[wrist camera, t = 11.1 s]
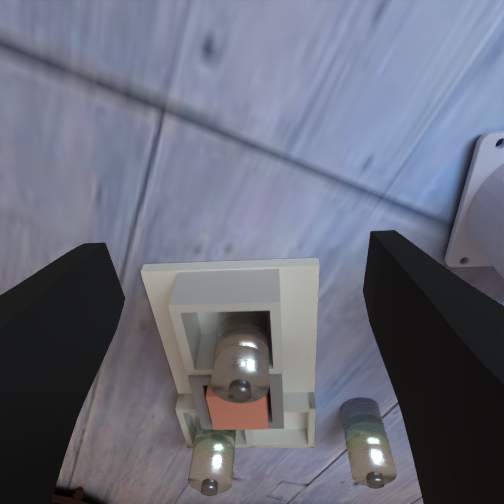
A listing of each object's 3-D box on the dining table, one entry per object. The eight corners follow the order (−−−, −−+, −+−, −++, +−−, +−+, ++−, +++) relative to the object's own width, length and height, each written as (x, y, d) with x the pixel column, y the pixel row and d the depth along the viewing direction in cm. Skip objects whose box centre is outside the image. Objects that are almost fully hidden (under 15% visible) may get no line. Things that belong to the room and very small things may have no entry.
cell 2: (381, 397, 30) (402, 474, 26) (376, 419, 32) (395, 495, 27) (341, 397, 31) (355, 473, 26) (339, 419, 33) (351, 494, 28)
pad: (265, 358, 26) (265, 396, 23) (268, 391, 28) (268, 429, 25) (211, 359, 26) (205, 397, 23) (218, 391, 28) (213, 429, 26)
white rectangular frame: (317, 257, 23) (326, 301, 19) (312, 423, 33) (316, 470, 30) (143, 264, 23) (123, 307, 20) (191, 424, 34) (183, 469, 31)
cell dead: (237, 290, 23) (232, 369, 18) (277, 312, 24) (282, 392, 19) (209, 319, 25) (198, 399, 20) (248, 339, 26) (246, 419, 21)
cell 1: (240, 406, 31) (234, 485, 26) (233, 427, 32) (227, 504, 27) (201, 400, 30) (188, 479, 25) (197, 421, 32) (184, 498, 27)
